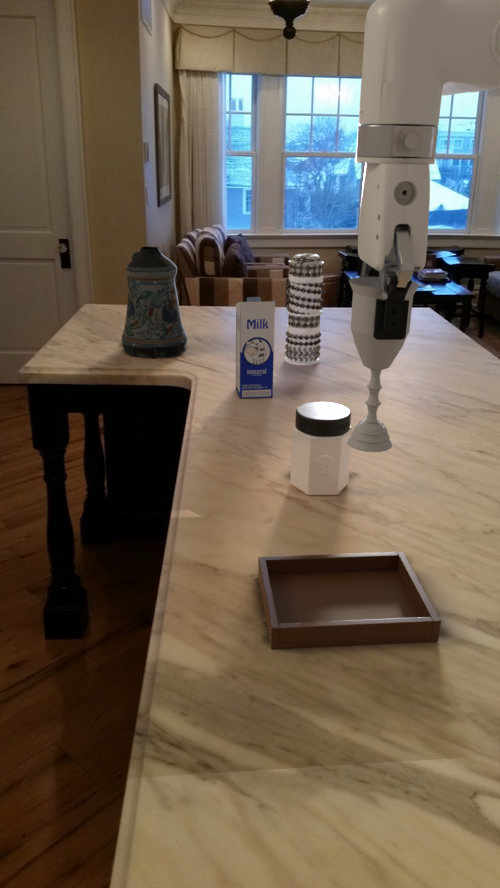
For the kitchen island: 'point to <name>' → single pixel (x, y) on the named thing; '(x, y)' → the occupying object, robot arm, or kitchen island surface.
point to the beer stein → (153, 307)
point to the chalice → (372, 360)
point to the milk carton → (254, 348)
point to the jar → (321, 448)
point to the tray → (344, 600)
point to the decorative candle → (304, 309)
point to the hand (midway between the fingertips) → (380, 328)
